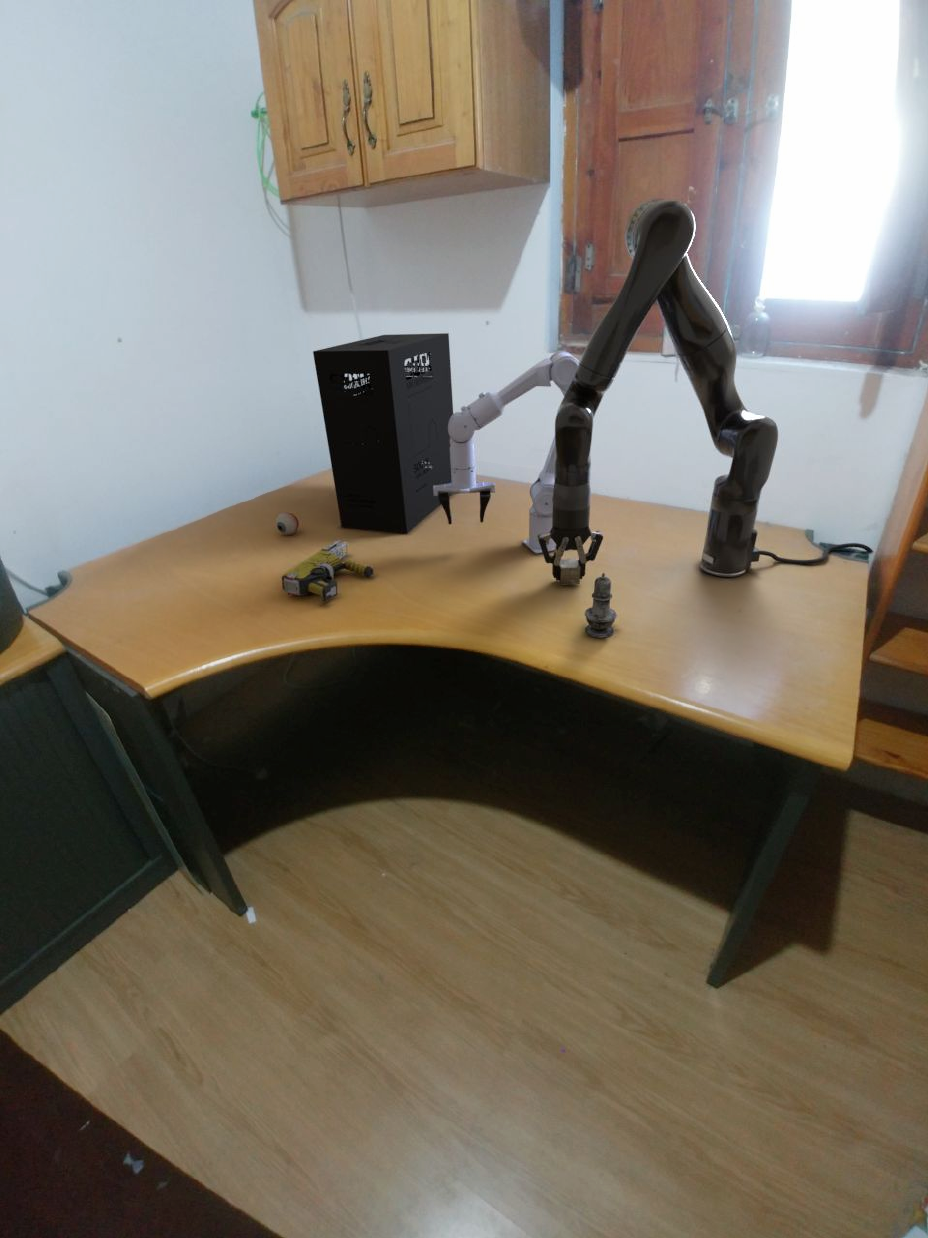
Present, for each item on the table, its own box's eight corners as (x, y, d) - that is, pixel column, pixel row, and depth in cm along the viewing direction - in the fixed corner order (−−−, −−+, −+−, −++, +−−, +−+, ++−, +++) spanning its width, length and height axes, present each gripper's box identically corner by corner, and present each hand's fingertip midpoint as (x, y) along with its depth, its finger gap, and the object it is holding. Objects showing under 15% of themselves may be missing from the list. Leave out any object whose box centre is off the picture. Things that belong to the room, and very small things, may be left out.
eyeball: (273, 537, 164) (268, 516, 161) (287, 528, 169) (282, 508, 166) (291, 539, 161) (286, 518, 158) (305, 530, 166) (301, 510, 163)
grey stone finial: (615, 639, 110) (620, 580, 104) (583, 637, 112) (586, 579, 106) (615, 623, 115) (620, 566, 109) (584, 621, 117) (587, 565, 111)
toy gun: (389, 548, 145) (334, 537, 149) (339, 588, 125) (277, 575, 129) (389, 566, 147) (335, 555, 151) (340, 608, 127) (279, 595, 131)
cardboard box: (400, 485, 198) (384, 334, 175) (457, 489, 191) (448, 333, 169) (341, 526, 168) (312, 351, 145) (407, 533, 161) (388, 350, 139)
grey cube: (557, 576, 133) (557, 559, 131) (576, 575, 133) (576, 558, 131) (560, 585, 129) (560, 568, 127) (579, 583, 129) (580, 566, 127)
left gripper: (431, 473, 136) (435, 529, 143) (495, 469, 136) (496, 526, 143) (432, 464, 143) (436, 519, 149) (493, 461, 142) (494, 515, 149)
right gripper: (538, 511, 119) (537, 588, 128) (610, 506, 119) (605, 584, 127) (533, 498, 125) (533, 572, 134) (602, 494, 125) (597, 569, 134)
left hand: (465, 521), depth 147 cm, fingers open, 7 cm apart
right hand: (568, 577), depth 131 cm, fingers closed on grey cube, 4 cm apart
